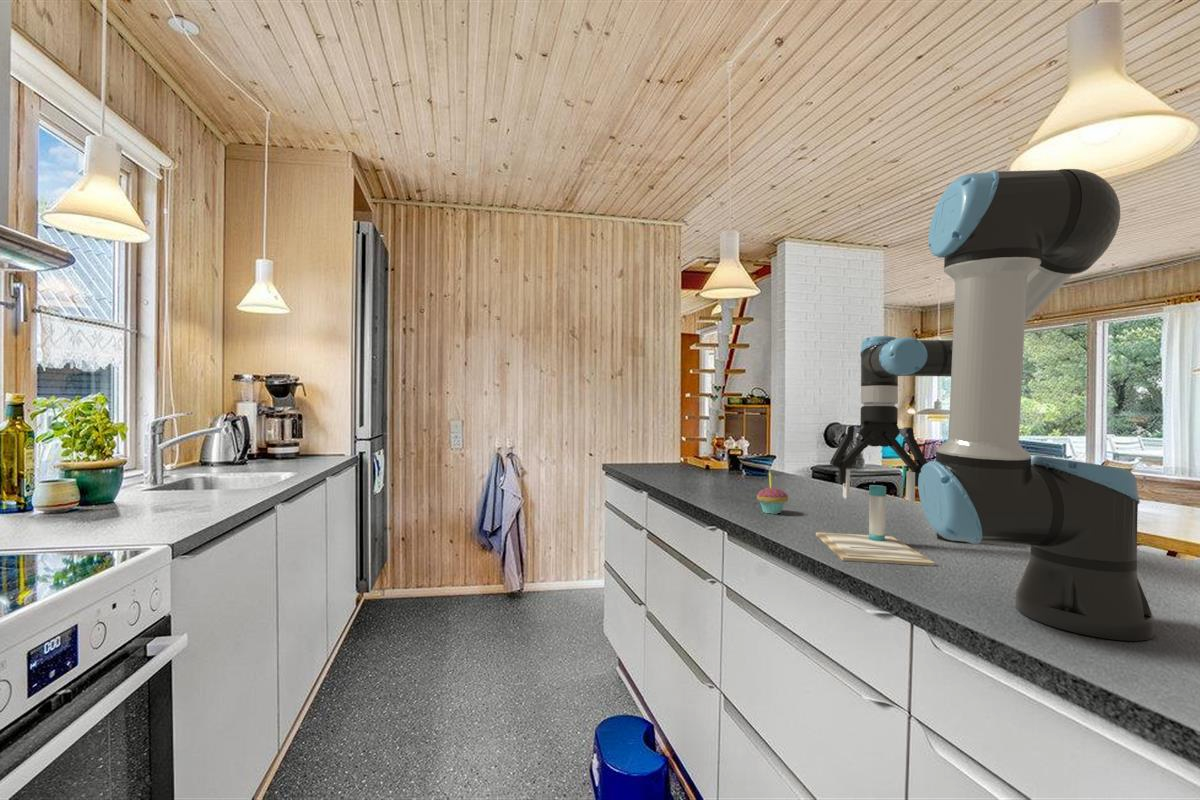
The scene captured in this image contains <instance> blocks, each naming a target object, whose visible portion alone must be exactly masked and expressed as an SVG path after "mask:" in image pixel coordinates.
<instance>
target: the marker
mask: <svg viewBox="0 0 1200 800" xmlns="http://www.w3.org/2000/svg"><path fill="white" fill-rule="evenodd" d="M868 487H869V489H868V492H869V493H868V495H869V503H868V505H869V506H868V507H869V508H868V509H869V511H868V513H869V514H868V515H869V516H868V520H869V521H868V535H869V539H870V540H875V541H885V536H886V496H887V486H886V485H885V486H884V485H879V484H878V485H877V484H876V485H875V484H870V485H869V486H868Z"/></svg>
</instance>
